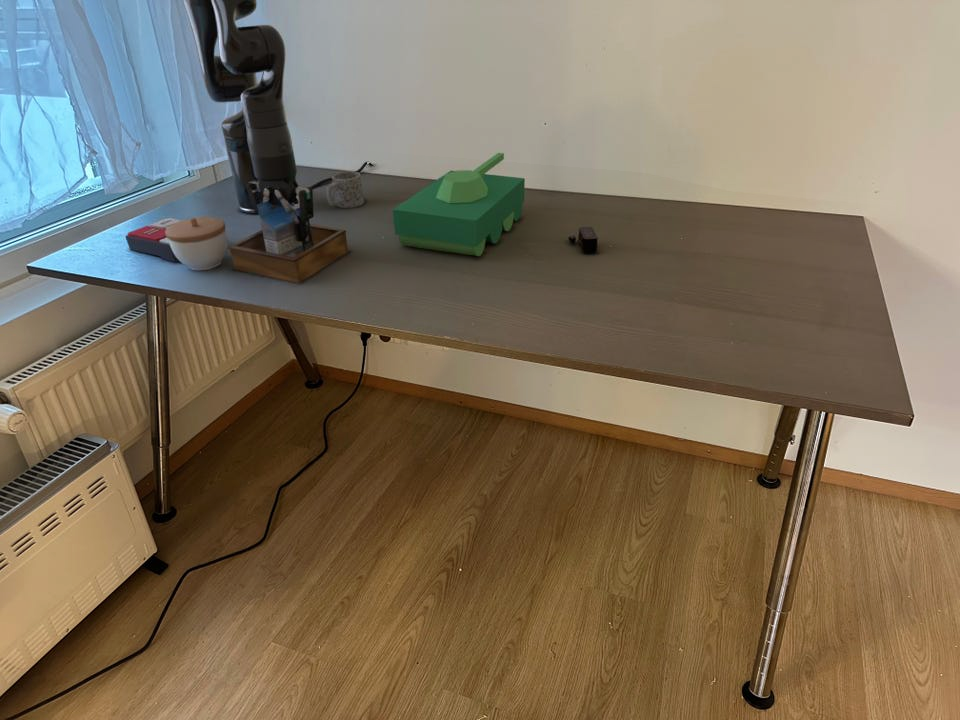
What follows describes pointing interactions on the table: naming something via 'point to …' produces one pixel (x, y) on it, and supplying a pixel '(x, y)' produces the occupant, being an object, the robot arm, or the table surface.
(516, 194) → the green tank
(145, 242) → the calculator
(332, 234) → the wooden square tray
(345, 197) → the mug
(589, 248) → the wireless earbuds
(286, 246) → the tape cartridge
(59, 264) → the table surface
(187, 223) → the trinket box
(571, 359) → the table surface
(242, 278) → the table surface
